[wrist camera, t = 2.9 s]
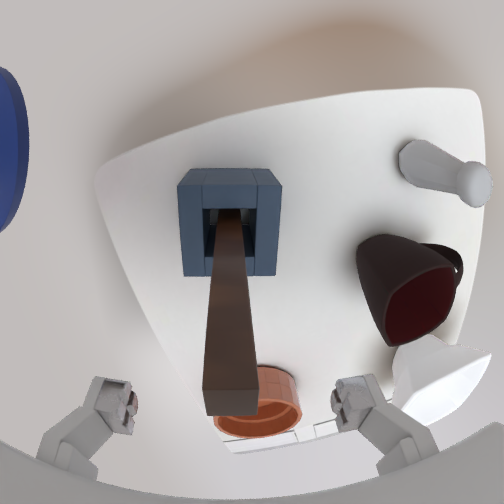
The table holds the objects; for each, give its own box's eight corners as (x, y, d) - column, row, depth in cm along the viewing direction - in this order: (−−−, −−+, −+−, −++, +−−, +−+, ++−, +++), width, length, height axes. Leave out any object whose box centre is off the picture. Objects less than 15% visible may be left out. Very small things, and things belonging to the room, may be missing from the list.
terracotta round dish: (216, 409, 48) (216, 439, 42) (211, 364, 42) (210, 399, 36) (289, 406, 49) (294, 434, 43) (300, 361, 43) (309, 394, 37)
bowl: (372, 328, 41) (408, 393, 29) (458, 300, 41) (499, 347, 29) (360, 390, 50) (381, 444, 37) (434, 363, 49) (461, 407, 37)
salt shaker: (392, 183, 31) (461, 221, 19) (390, 137, 28) (466, 156, 16) (427, 180, 30) (496, 215, 19) (426, 137, 28) (501, 158, 16)
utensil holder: (193, 240, 32) (183, 276, 25) (190, 168, 28) (176, 185, 21) (265, 240, 33) (275, 276, 26) (269, 168, 29) (282, 185, 22)
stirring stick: (220, 214, 31) (207, 416, 10) (220, 196, 30) (201, 389, 9) (238, 214, 31) (257, 415, 10) (238, 196, 30) (259, 388, 9)
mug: (336, 234, 33) (379, 288, 22) (425, 203, 32) (484, 240, 21) (347, 295, 37) (381, 356, 27) (426, 263, 36) (472, 309, 26)
